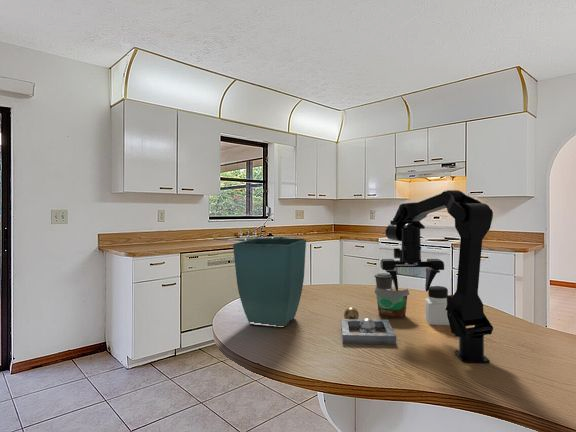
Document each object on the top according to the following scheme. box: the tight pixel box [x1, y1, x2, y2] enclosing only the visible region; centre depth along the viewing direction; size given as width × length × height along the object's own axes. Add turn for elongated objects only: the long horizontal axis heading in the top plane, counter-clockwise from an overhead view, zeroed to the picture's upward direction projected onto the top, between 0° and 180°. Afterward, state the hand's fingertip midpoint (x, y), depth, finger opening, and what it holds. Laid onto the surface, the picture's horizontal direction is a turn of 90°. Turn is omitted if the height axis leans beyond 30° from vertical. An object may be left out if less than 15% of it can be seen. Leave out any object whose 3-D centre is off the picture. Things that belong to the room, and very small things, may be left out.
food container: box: [373, 286, 410, 320], centre depth 128 cm, size 12×6×10 cm, turn 62°
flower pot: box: [232, 237, 307, 327], centre depth 125 cm, size 20×20×28 cm
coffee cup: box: [374, 272, 393, 289], centre depth 156 cm, size 8×8×10 cm
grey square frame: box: [340, 318, 397, 346], centre depth 110 cm, size 15×15×2 cm
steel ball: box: [358, 317, 377, 333], centre depth 110 cm, size 5×5×5 cm
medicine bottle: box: [424, 285, 450, 327], centre depth 121 cm, size 7×7×12 cm
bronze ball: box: [343, 307, 360, 319], centre depth 123 cm, size 5×5×5 cm
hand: (411, 291), depth 115 cm, fingers open, 9 cm apart
